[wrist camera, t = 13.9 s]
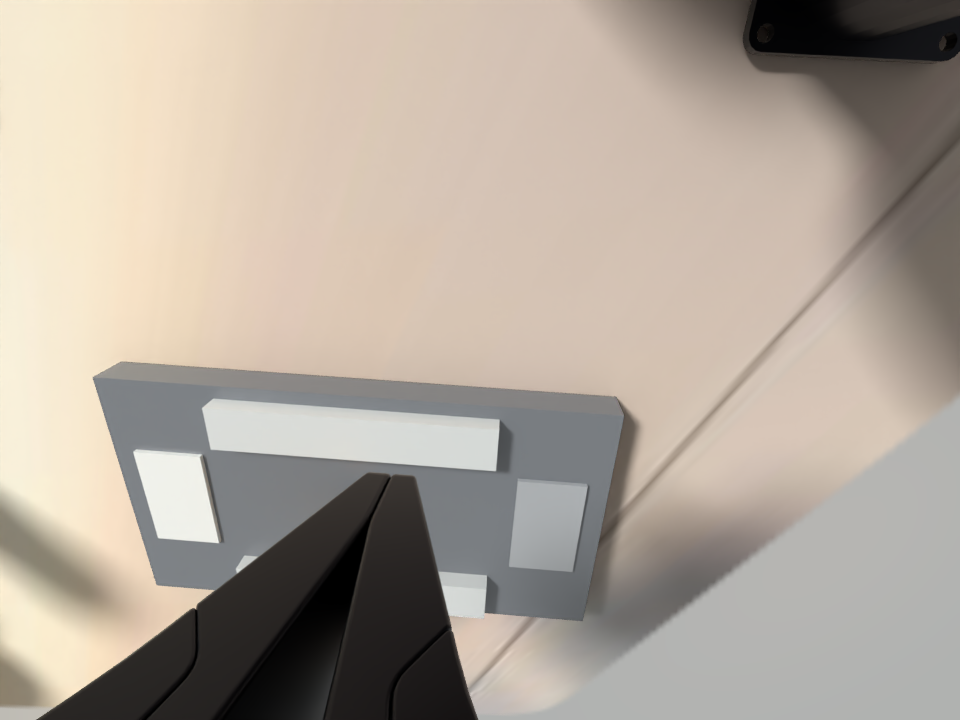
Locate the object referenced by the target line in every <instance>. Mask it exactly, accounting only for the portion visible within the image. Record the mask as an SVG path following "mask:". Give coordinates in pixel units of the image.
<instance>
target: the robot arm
mask: <svg viewBox="0 0 960 720" xmlns="http://www.w3.org/2000/svg"><path fill="white" fill-rule="evenodd" d="M761 26H763V27H765V28H766V29H767V31H768V37H767V39H766V41H765V42H764V43H762V42H759V40H758V38H757V32H758V30H759V28H760V27H761ZM943 36H945V38H946V40H947V41H946V46H945V48H944V49H943V51H940V48H939V42H940V40H941V39H942V37H943ZM743 44H744V47H745V49H746V50H747V51H748V52H749V53H752V54H755V55H775V56H794V57H813V58H833V59H852V60H872V61H891V62H910V63H930V64H931V63H937V62H942V61H947V60H949V59H951V58H953V57H955V56H956V55H957V54H958V53H959V52H960V0H752V1H751V5H750V9H749V14H748V18H747V22H746V26H745V31H744V35H743ZM451 630H452V627H451V623H450V619H449V614H448V610H447V606H446V602H445V598H444V593H443V589H442V585H441V581H440V576H439V572H438V568H437V564H436V560H435V555H434V551H433V547H432V543H431V539H430V534H429V530H428V526H427V522H426V517H425V513H424V509H423V505H422V501H421V496H420V492H419V488H418V484H417V480H416V477H415V476H413V475H402V474H394V475H392V476H391V475H390V474H388V473H376V472H368V473H366V474H364V475H363V476H362V477H360V478H359V479H358V480H357V481H355V482H354V483H353V484H351V485H350V486H349V487H348V488H346V489H345V490H344V491H342V492H341V493H340V494H339V495H337V496H336V497H335V498H333V499H332V500H331V501H329V502H328V503H327V504H326V505H324V506H323V507H322V508H320V509H319V510H318V511H317V512H315V513H314V514H313V515H311V516H310V517H309V518H308V519H306V520H305V521H304V522H302V523H301V524H300V525H299V526H297V527H296V528H295V529H293V530H292V531H291V532H290V533H288V534H287V535H286V536H284V537H283V538H282V539H281V540H279V541H278V542H277V543H275V544H274V545H273V546H272V547H270V548H269V549H268V550H266V551H265V552H264V553H263V554H261V555H260V556H259V557H257V558H256V559H255V560H254V561H252V562H251V563H250V564H248V565H247V566H246V567H244V568H243V569H242V570H241V571H239V572H238V573H237V574H235V575H234V576H233V577H232V578H230V579H229V580H228V581H226V582H225V583H224V584H223V585H221V586H220V587H219V588H217V589H216V590H215V591H214V592H212V593H211V594H210V595H208V596H207V597H206V598H205V599H203V600H202V601H201V602H199V603H198V604H197V607H196V609H194V608H192V609H190V610H189V611H188V612H186V613H185V614H184V615H182V616H181V617H180V618H178V619H177V620H176V621H175V622H173V623H172V624H171V625H169V626H168V627H167V628H166V629H164V630H163V631H162V632H160V633H159V634H158V635H156V636H155V637H154V638H152V639H151V640H150V641H148V642H147V643H145V644H144V645H143V646H141V647H140V648H139V649H137V650H136V651H135V652H133V653H132V654H131V655H129V656H128V657H127V658H125V659H124V660H123V661H121V662H120V663H118V664H117V665H115V666H114V667H113V668H111V669H110V670H108V671H107V672H105V673H104V674H103V675H101V676H100V677H98V678H97V679H95V680H94V681H92V682H91V683H90V684H88V685H87V686H85V687H84V688H82V689H81V690H79V691H78V692H77V693H75V694H74V695H72V696H71V697H69V698H68V699H66V700H65V701H63V702H62V703H60V704H59V705H57V706H56V707H55V708H53V709H52V710H50V711H49V712H47V713H46V714H44V715H43V716H41V717H40V718H38V719H37V720H478V718H477V715H476V712H475V709H474V706H473V703H472V700H471V698H470V695H469V692H468V688H467V684H466V681H465V677H464V674H463V670H462V666H461V663H460V659H459V655H458V651H457V647H456V643H455V639H454V634H453V632H452V631H451Z"/></svg>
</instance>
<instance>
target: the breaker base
mask: <svg viewBox="0 0 960 720" xmlns="http://www.w3.org/2000/svg"><path fill="white" fill-rule="evenodd" d="M93 380H94V383H95V387H96V390H97V393H98V396H99V399H100V403H101V406H102V409H103V412H104V416H105V419H106V422H107V425H108V429H109V432H110V435H111V438H112V442H113V445H114V448H115V451H116V455H117V458H118V461H119V464H120V468H121V471H122V474H123V477H124V481H125V484H126V487H127V490H128V493H129V497H130V500H131V503H132V506H133V510H134V513H135V516H136V519H137V523H138V526H139V529H140V532H141V536H142V539H143V542H144V545H145V549H146V552H147V555H148V558H149V562H150V565H151V568H152V571H153V574H154V578H155V581H156V584H157V585H160V586H172V587H184V588H196V589H208V590H216V589H217V588H219V587H220V586H221V585H223V584H224V583H225V582H226V581H228V580H229V579H230V578H232V577H233V576H234V575H235V574H237V573H238V572H239V571H241V570H242V569H243V568H244V567H246V566H247V565H248V564H250V563H251V562H252V561H254V560H255V559H256V558H257V557H259V556H260V555H261V554H263V553H264V552H265V551H266V550H268V549H269V548H270V547H272V546H273V545H274V544H275V543H277V542H278V541H279V540H281V539H282V538H283V537H284V536H286V535H287V534H288V533H290V532H291V531H292V530H293V529H295V528H296V527H297V526H299V525H300V524H301V523H302V522H304V521H305V520H306V519H308V518H309V517H310V516H311V515H313V514H314V513H315V512H317V511H318V510H319V509H320V508H322V507H323V506H324V505H326V504H327V503H328V502H329V501H331V500H332V499H333V498H335V497H336V496H337V495H339V494H340V493H341V492H342V491H344V490H345V489H346V488H348V487H349V486H350V485H351V484H353V483H354V482H355V481H357V480H358V479H359V478H360V477H362V476H363V475H364V474H366V473H368V472H376V473H388V474H390V475H391V476H392V475H394V474H402V475H413V476H415V477H416V480H417V484H418V488H419V492H420V496H421V501H422V505H423V509H424V513H425V517H426V522H427V526H428V530H429V534H430V539H431V543H432V547H433V551H434V555H435V560H436V564H437V568H438V572H439V576H440V581H441V585H442V589H443V593H444V598H445V602H446V606H447V610H448V614H449V616H457V617H469V618H481V619H484V613H493V614H504V615H516V616H528V617H540V618H552V619H564V620H576V621H583V617H584V612H585V607H586V602H587V597H588V592H589V587H590V583H591V578H592V573H593V568H594V563H595V558H596V553H597V548H598V543H599V538H600V533H601V528H602V523H603V518H604V514H605V509H606V504H607V499H608V494H609V489H610V484H611V479H612V474H613V469H614V464H615V459H616V454H617V449H618V444H619V440H620V435H621V430H622V425H623V420H624V414H623V412H622V409H621V407H620V405H619V402H618V400H617V398H616V397H609V396H595V395H581V394H567V393H553V392H539V391H525V390H511V389H497V388H483V387H469V386H455V385H441V384H427V383H413V382H399V381H385V380H371V379H357V378H343V377H329V376H315V375H301V374H287V373H273V372H259V371H245V370H231V369H217V368H203V367H189V366H175V365H161V364H147V363H133V362H120V363H118V364H116V365H114V366H112V367H110V368H109V369H107V370H105V371H103V372H101V373H100V374H98V375H96V376H94V377H93Z"/></svg>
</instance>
